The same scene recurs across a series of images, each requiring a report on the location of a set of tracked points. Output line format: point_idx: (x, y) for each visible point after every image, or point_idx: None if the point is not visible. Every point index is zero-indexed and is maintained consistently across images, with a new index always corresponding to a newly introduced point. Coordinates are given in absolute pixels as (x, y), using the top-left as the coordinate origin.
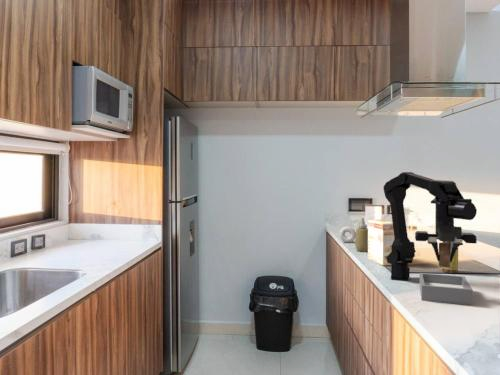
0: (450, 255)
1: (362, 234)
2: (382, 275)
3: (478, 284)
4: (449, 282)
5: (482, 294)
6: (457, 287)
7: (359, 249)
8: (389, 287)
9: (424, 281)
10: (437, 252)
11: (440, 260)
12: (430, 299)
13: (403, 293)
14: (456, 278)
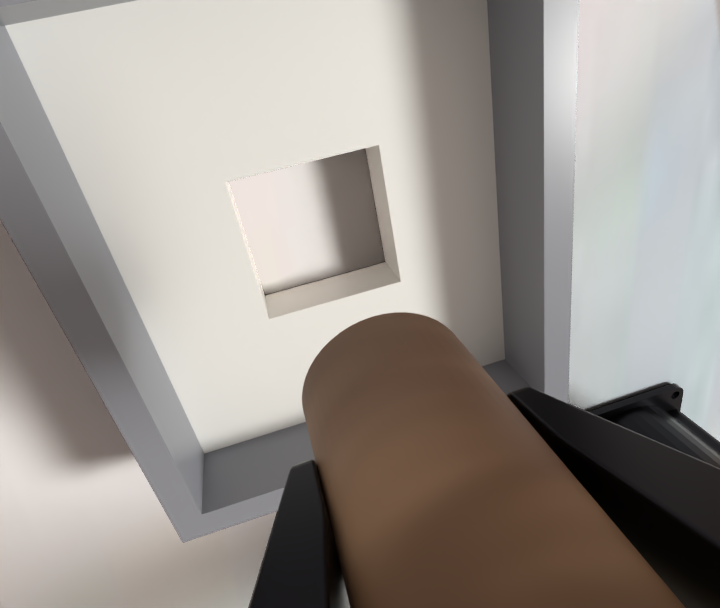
0: (340, 599)
1: None
2: (710, 432)
3: None
4: (303, 433)
5: (31, 423)
6: (221, 368)
7: None
8: (709, 185)
9: (492, 365)
10: (695, 503)
11: (498, 389)
12: None
13: (625, 67)
14: (249, 483)
